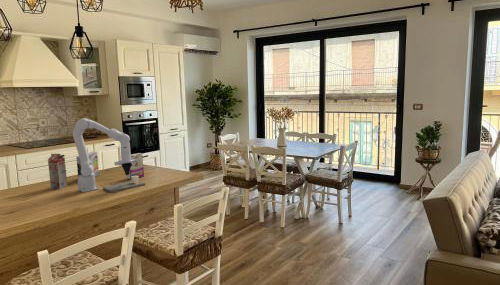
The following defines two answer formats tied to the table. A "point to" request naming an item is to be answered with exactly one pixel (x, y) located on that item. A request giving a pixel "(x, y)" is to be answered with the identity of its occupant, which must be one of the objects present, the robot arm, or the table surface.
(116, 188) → the fader panel
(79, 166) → the cake pan box
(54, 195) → the table surface
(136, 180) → the fader knob
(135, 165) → the candy bar box
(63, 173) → the juice carton
